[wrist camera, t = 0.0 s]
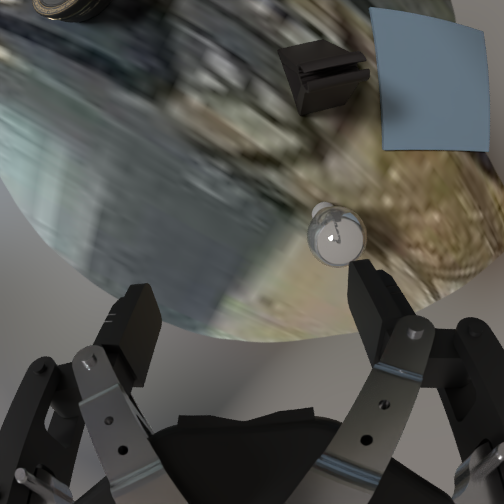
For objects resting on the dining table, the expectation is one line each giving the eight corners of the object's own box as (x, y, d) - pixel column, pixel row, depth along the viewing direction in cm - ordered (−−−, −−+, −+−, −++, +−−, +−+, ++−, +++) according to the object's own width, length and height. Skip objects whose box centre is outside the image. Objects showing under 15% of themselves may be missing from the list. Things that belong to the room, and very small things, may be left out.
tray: (368, 8, 28) (370, 7, 27) (481, 31, 27) (483, 31, 26) (382, 149, 37) (384, 150, 37) (486, 150, 36) (488, 151, 36)
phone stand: (343, 104, 35) (380, 111, 24) (299, 115, 36) (320, 125, 25) (323, 39, 31) (353, 20, 20) (276, 49, 31) (289, 31, 21)
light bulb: (288, 221, 42) (301, 267, 32) (311, 177, 39) (334, 210, 29) (330, 239, 44) (354, 288, 33) (354, 198, 41) (388, 237, 30)
